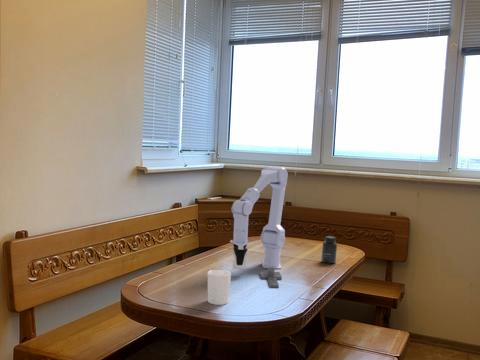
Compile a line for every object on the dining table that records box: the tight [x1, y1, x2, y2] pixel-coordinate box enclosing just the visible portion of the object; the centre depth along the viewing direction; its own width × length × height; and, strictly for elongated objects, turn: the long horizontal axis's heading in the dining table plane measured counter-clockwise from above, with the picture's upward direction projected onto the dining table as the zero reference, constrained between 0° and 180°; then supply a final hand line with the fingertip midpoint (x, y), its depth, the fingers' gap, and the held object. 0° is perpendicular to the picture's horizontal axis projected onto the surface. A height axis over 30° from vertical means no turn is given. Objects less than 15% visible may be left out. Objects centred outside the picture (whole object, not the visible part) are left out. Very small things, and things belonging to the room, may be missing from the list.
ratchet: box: [259, 266, 283, 288], centre depth 195 cm, size 19×8×4 cm, turn 2°
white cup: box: [207, 269, 232, 306], centre depth 166 cm, size 8×8×10 cm
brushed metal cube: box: [232, 250, 248, 270], centre depth 200 cm, size 5×5×6 cm
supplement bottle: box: [320, 235, 338, 264], centre depth 230 cm, size 7×7×12 cm
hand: (239, 263), depth 200 cm, fingers closed on brushed metal cube, 5 cm apart
